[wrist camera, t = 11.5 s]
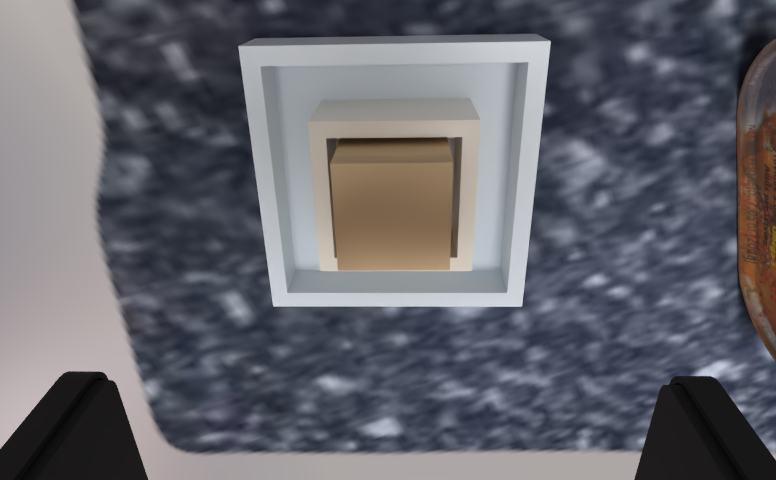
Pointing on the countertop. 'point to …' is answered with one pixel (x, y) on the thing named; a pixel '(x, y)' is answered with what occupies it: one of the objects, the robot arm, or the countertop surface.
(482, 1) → the countertop surface
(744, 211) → the tin
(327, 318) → the countertop surface
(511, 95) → the tray
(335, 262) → the cream square open box
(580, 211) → the countertop surface
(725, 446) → the robot arm
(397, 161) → the block
